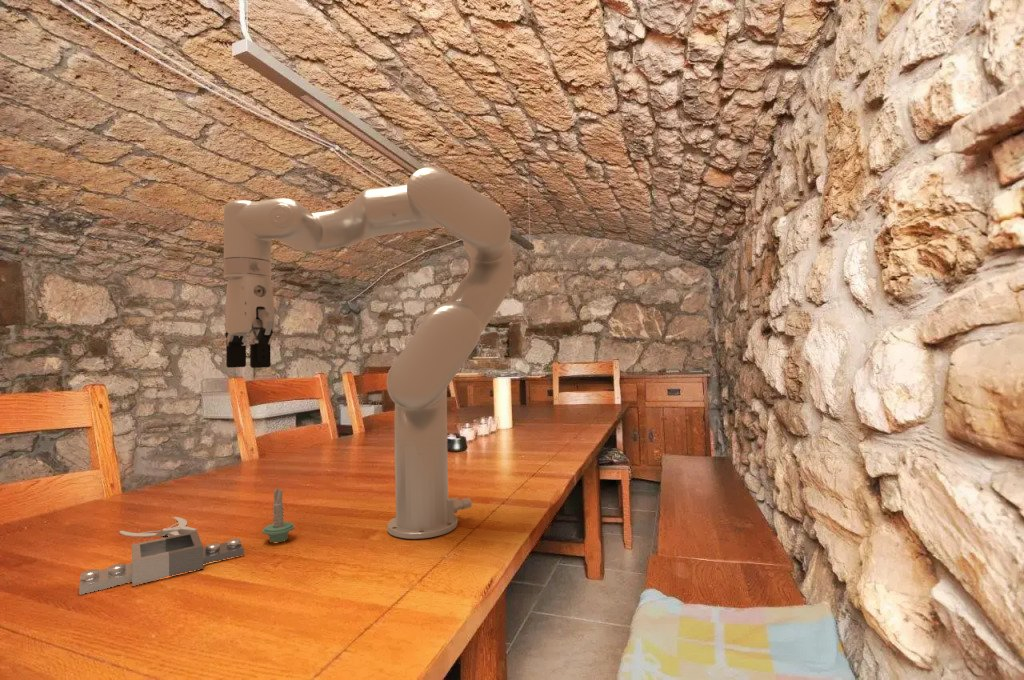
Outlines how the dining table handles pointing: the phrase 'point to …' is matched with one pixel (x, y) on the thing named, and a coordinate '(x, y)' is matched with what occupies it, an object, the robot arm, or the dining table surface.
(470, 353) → the robot arm
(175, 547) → the riveted metal bracket
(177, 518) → the pliers
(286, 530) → the screw
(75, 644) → the dining table surface
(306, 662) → the dining table surface
